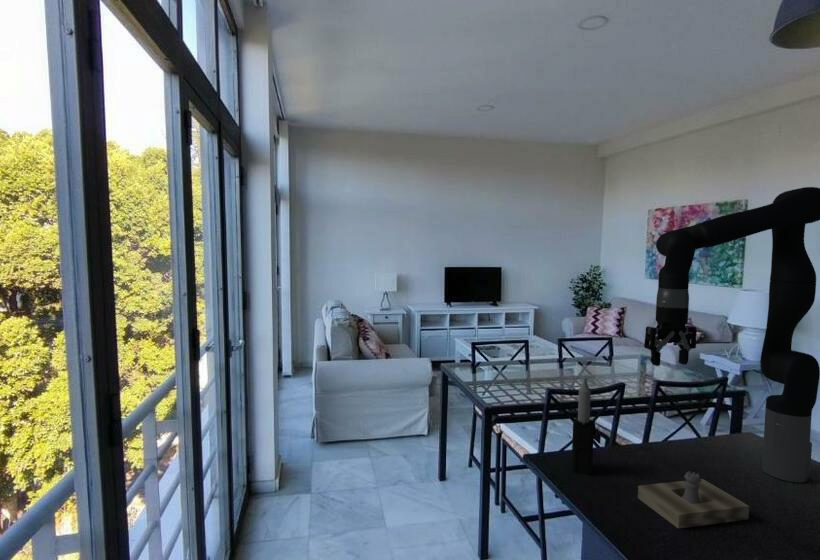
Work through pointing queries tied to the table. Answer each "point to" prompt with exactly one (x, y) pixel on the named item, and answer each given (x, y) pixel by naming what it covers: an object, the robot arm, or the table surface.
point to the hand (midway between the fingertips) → (669, 364)
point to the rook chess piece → (692, 488)
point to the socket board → (684, 514)
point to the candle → (583, 434)
